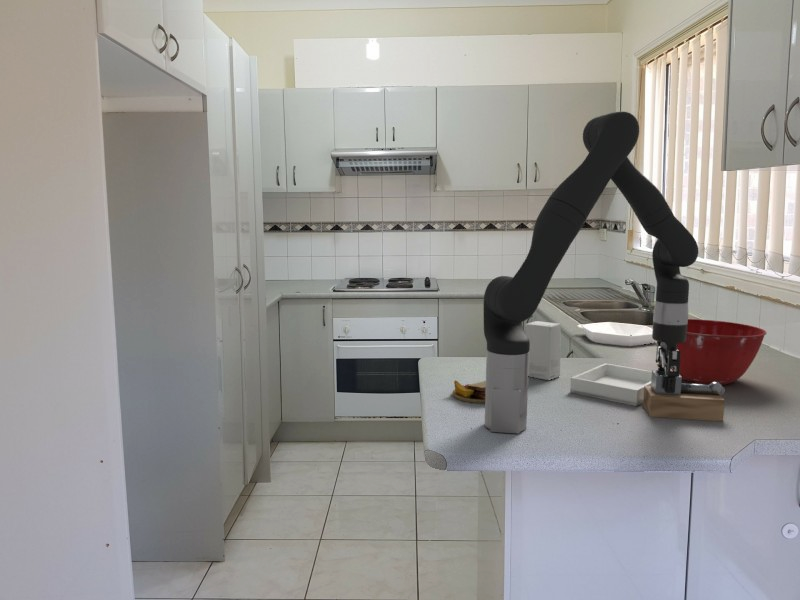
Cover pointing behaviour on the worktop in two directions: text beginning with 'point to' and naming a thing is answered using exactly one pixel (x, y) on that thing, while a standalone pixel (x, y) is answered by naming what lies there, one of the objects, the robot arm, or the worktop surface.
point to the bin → (613, 383)
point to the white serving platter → (618, 333)
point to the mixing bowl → (718, 351)
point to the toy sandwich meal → (470, 392)
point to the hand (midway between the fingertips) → (665, 387)
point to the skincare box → (544, 349)
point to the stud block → (684, 405)
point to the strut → (683, 386)
